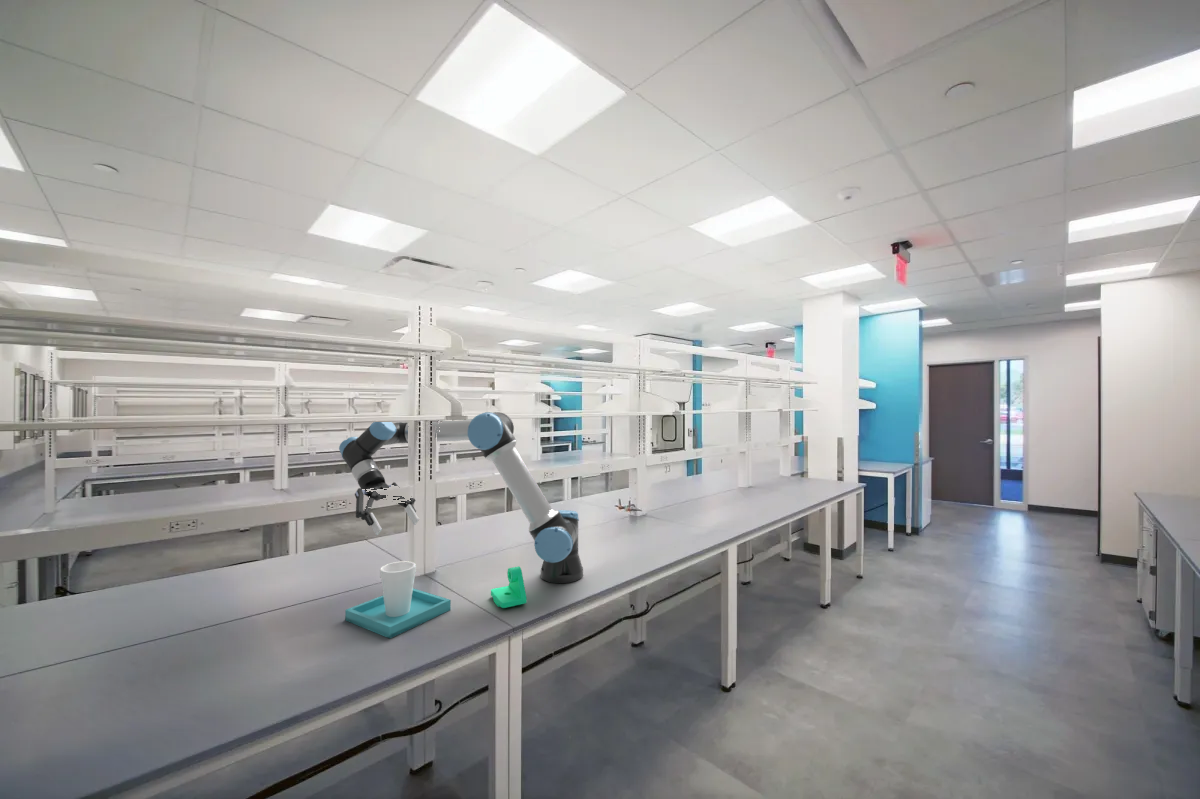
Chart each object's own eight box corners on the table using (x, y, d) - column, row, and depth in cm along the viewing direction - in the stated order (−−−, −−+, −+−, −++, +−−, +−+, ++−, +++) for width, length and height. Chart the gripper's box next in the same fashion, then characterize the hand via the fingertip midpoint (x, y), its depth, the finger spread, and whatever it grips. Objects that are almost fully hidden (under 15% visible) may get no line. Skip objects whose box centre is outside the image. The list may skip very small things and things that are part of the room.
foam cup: (405, 602, 141) (405, 559, 142) (421, 610, 136) (422, 565, 136) (373, 612, 134) (374, 567, 134) (389, 622, 128) (389, 574, 128)
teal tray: (406, 595, 149) (406, 586, 149) (450, 609, 138) (450, 599, 138) (345, 620, 131) (345, 609, 132) (390, 638, 121) (390, 627, 121)
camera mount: (490, 597, 148) (490, 565, 148) (513, 592, 152) (513, 561, 152) (501, 612, 138) (502, 577, 138) (526, 606, 141) (526, 572, 142)
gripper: (396, 478, 168) (425, 525, 160) (326, 490, 146) (356, 544, 138) (406, 464, 165) (436, 511, 157) (336, 474, 143) (367, 528, 136)
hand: (398, 527), depth 148 cm, fingers open, 13 cm apart
